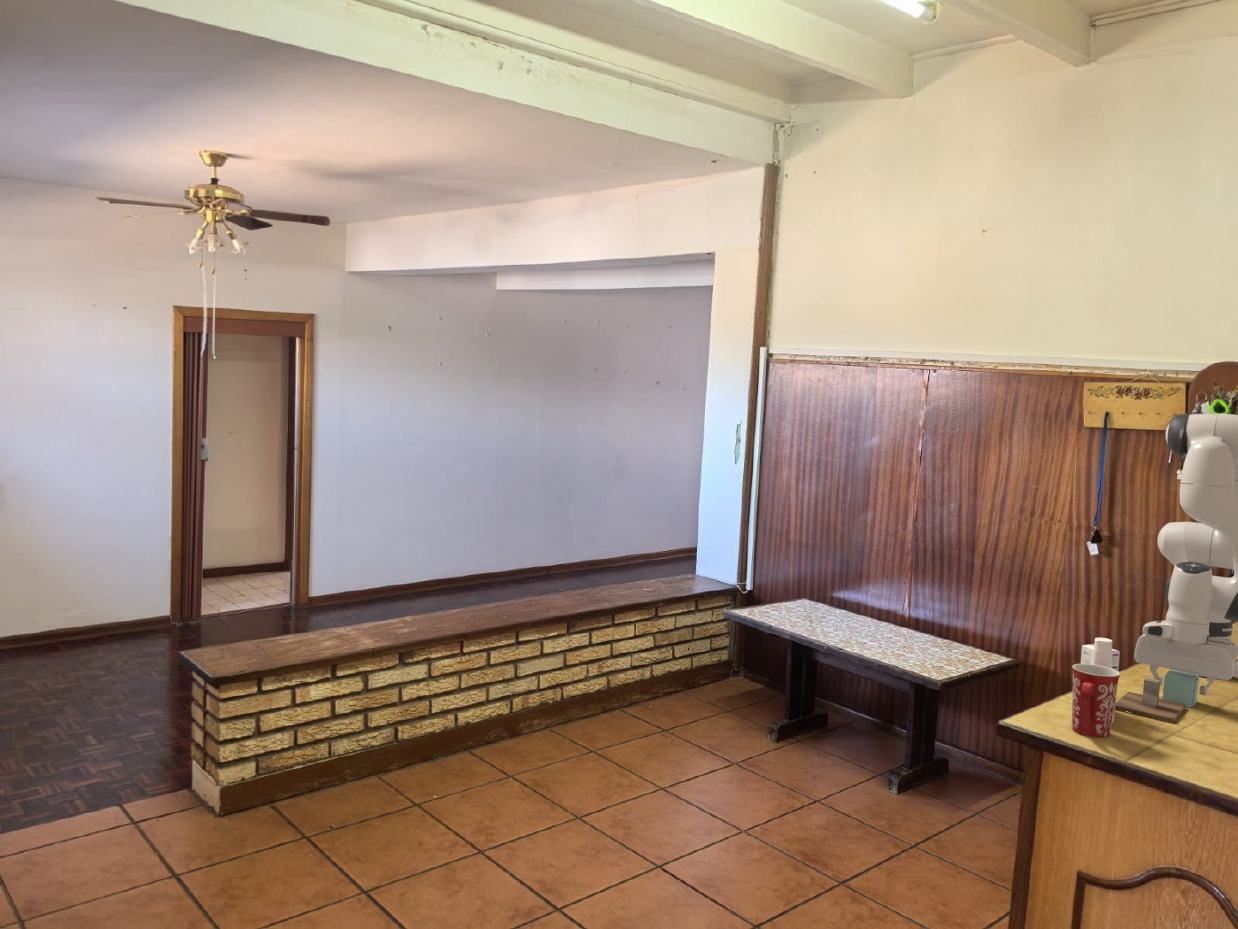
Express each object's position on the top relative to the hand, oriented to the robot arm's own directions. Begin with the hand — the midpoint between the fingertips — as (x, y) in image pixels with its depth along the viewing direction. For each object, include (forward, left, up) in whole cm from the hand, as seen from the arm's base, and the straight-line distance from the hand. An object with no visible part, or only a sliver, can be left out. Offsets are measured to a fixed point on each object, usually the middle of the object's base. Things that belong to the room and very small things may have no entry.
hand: (1180, 689), depth 225 cm
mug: (+41, -10, -3) cm, 42 cm away
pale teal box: (0, 0, -3) cm, 3 cm away
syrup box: (+23, -13, -3) cm, 26 cm away
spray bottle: (+30, -11, -3) cm, 32 cm away
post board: (+12, -4, -3) cm, 13 cm away
